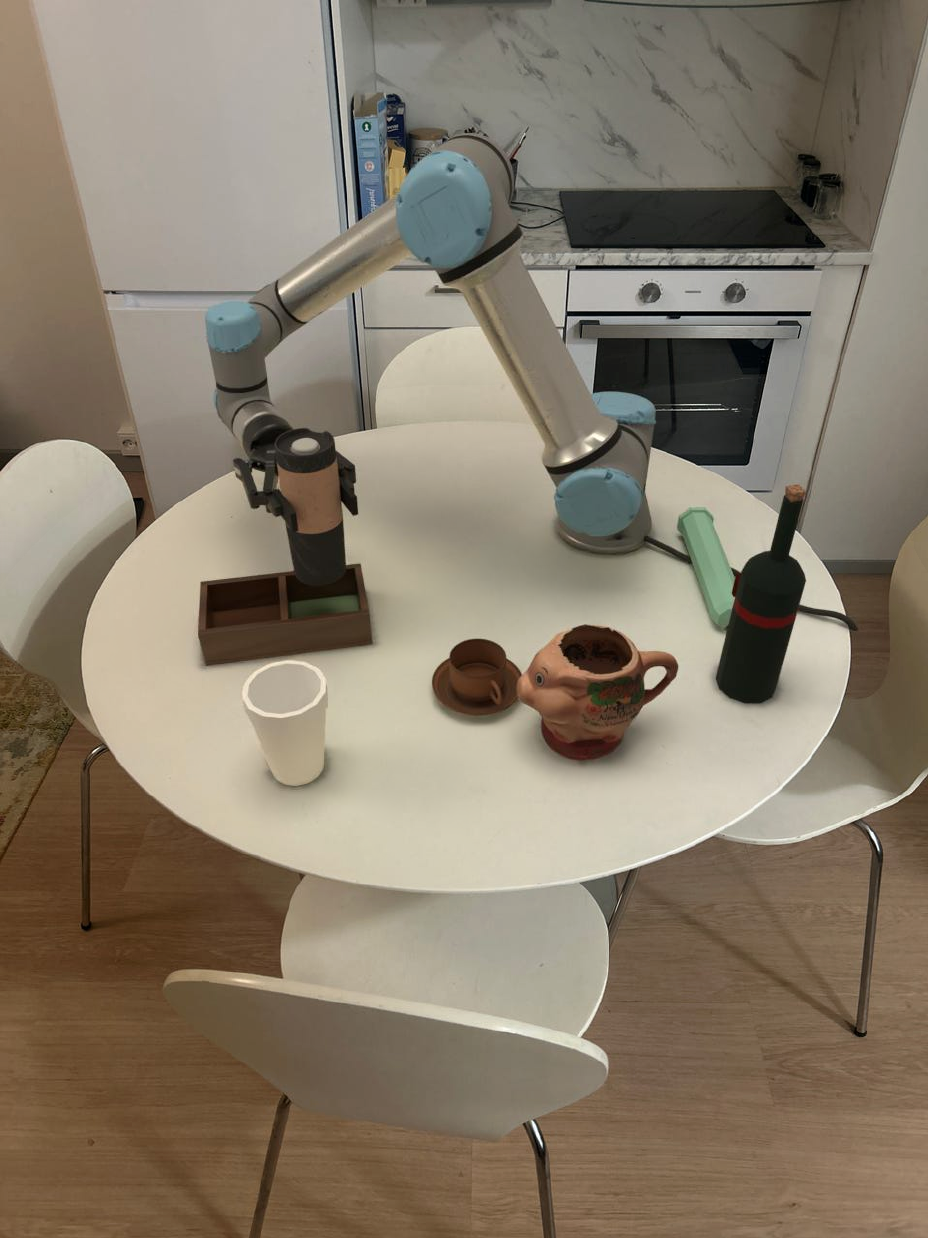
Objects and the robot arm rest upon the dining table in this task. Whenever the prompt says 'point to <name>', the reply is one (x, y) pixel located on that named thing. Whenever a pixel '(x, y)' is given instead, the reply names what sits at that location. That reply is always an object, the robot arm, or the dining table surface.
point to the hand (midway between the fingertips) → (325, 514)
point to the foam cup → (289, 718)
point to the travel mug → (313, 504)
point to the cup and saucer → (476, 679)
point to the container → (708, 562)
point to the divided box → (281, 616)
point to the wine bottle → (763, 612)
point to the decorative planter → (590, 689)
